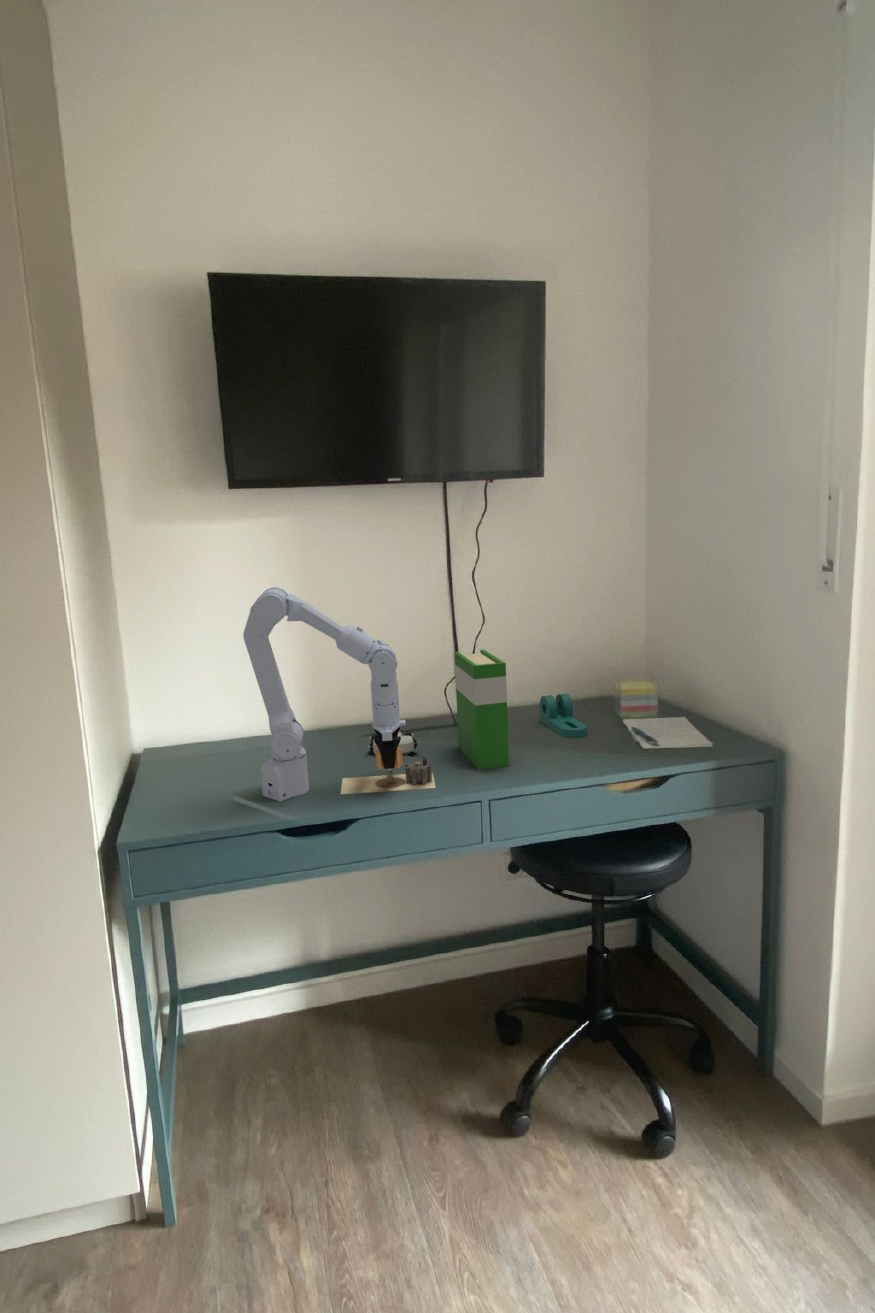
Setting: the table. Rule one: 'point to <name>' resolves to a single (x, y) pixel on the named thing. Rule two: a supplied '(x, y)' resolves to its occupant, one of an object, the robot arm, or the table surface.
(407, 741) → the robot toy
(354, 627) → the robot arm
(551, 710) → the bracket
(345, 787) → the gear board
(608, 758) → the table surface
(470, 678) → the hardback book
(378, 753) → the orange gear
